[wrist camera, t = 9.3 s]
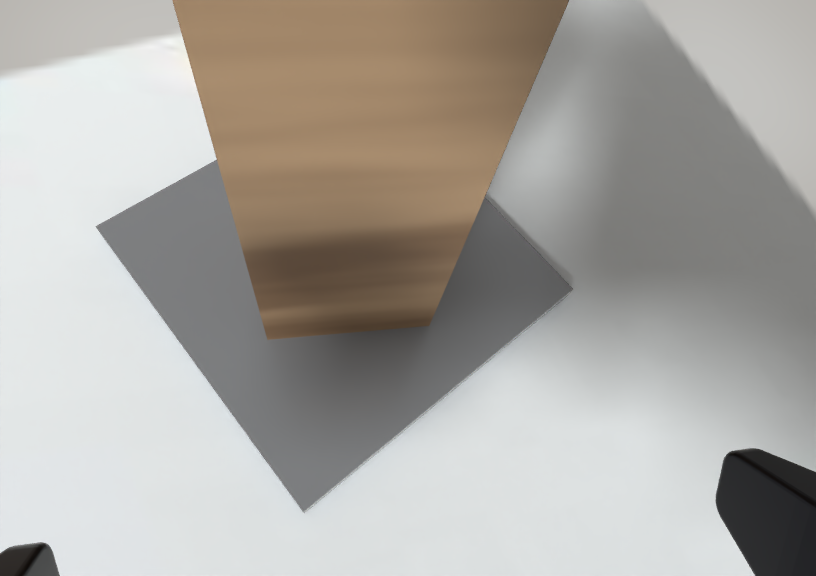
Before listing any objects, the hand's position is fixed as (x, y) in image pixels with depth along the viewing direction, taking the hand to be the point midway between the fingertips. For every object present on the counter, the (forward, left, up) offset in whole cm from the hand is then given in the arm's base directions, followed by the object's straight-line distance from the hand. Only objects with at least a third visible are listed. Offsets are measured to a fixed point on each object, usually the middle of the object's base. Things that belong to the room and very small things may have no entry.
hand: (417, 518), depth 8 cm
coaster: (+7, -5, -10) cm, 13 cm away
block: (+7, -5, -9) cm, 13 cm away
